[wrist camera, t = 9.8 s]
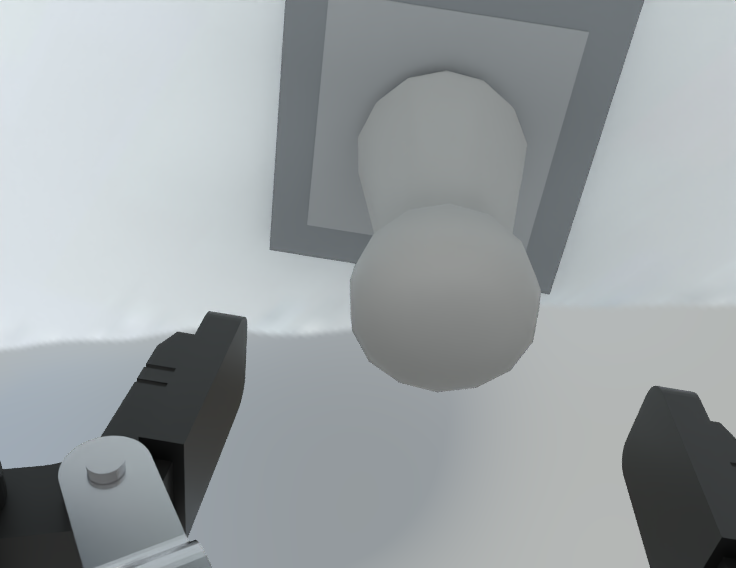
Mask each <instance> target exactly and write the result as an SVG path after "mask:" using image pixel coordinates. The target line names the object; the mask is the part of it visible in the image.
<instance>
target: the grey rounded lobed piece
mask: <svg viewBox="0 0 736 568" xmlns="http://www.w3.org/2000/svg"><path fill="white" fill-rule="evenodd" d="M526 149H527V142H526V140H525V137H524V134H523V131H522V129H521V126H520V123H519V120H518V118H517V115H516V112H515V110H514V108H513V107H512V106H511V105H510V104H509V103H508V102H507V101H506V100H505V99H503V98H502V97H501V96H500V95H499V94H498V93H497V92H496V91H495V90H494V89H492V88H491V87H490V86H489V85H488V84H487V83H486V82H485V81H484V80H480V79H477V78H473V77H469V76H465V75H462V74H458V73H454V72H451V71H447V70H446V71H441V72H436V73H431V74H426V75H420V76H415V77H410V78H407V79H406V80H405V81H404V82H402V83H401V84H400V85H398V86H397V87H396V88H394V89H393V90H392V91H390V92H389V93H388V94H386V95H385V96H384V97H382V98H381V99H380V100H379V101H378V102H377V103H376V104H375V106H374V108H373V109H372V111H371V113H370V115H369V117H368V119H367V121H366V123H365V125H364V127H363V128H362V130H361V132H360V134H359V136H358V173H359V177H360V181H361V185H362V188H363V192H364V196H365V200H366V204H367V208H368V212H369V215H370V219H371V223H372V227H373V231H374V234H373V236H372V238H371V239H370V241H369V243H368V244H367V246H366V248H365V249H364V251H363V253H362V255H361V256H360V258H359V260H358V261H357V263H356V265H355V267H354V270H353V273H352V276H351V279H350V305H351V323H352V331H353V333H354V335H355V336H356V338H357V340H358V342H359V344H360V346H361V348H362V349H363V351H364V353H365V355H366V356H367V359H368V360H369V362H371V363H372V364H374V365H375V366H376V367H378V368H379V369H381V370H382V371H384V372H385V373H387V374H388V375H390V376H391V377H392V378H394V379H395V380H397V381H398V382H400V383H403V384H407V385H411V386H415V387H419V388H423V389H427V390H431V391H435V392H443V391H451V390H460V389H468V388H476V387H478V386H480V385H482V384H484V383H486V382H488V381H490V380H492V379H494V378H496V377H498V376H500V375H502V374H504V373H506V372H508V371H510V370H511V369H512V368H513V367H514V365H515V364H516V363H517V361H518V360H519V359H520V358H521V356H522V355H523V354H524V353H525V351H526V350H527V349H528V347H529V346H530V345H531V344H532V342H533V337H534V333H535V327H536V322H537V317H538V311H539V304H540V293H541V290H540V287H539V284H538V281H537V278H536V275H535V273H534V270H533V268H532V266H531V263H530V261H529V258H528V256H527V253H526V251H525V248H524V246H523V243H522V242H521V241H520V240H519V239H518V238H517V237H516V236H514V235H513V228H514V221H515V215H516V209H517V203H518V197H519V191H520V186H521V182H522V176H523V169H524V162H525V155H526Z"/></svg>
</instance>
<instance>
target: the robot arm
mask: <svg viewBox="0 0 736 568" xmlns="http://www.w3.org/2000/svg"><path fill="white" fill-rule="evenodd" d="M246 343H247V319H246V317H241V316H235V315H229V314H223V313H217V312H211V311H209V312H208V313H207V314H206V315H205V317H204V319H203V321H202V323H201V324H200V326H199V328H198V330H197V332H196V334H195V335H194V334H188V333H182V332H176V333H175V334H174V335H172V336H171V337H169V338H168V339H166V340H165V341H164V342H162V343H161V344H159V345H158V346H157V347H156V349H155V350H154V352H153V354H152V355H151V357H150V358H149V360H148V362H147V363H146V367H144V368H143V370H142V371H141V373H140V375H139V376H138V378H137V382H135V383H134V384H133V386H132V387H131V389H130V391H129V392H128V394H127V396H126V397H125V399H124V400H123V402H122V404H121V405H120V407H119V408H118V410H117V412H116V413H115V415H114V416H113V418H112V420H111V421H110V423H109V425H108V426H107V428H106V429H105V431H104V433H103V434H102V436H101V437H100V438H95V439H92V440H89V441H87V442H85V443H83V444H81V445H79V446H78V447H76V448H74V449H73V450H72V451H71V452H70V453H69V454H68V455H67V456H66V457H65V458H64V460H63V461H62V462H61V463H57V464H52V465H45V466H36V467H24V468H12V469H2V466H1V462H0V568H212V566H211V564H210V562H209V560H208V558H207V555H206V553H205V551H204V549H203V547H202V546H201V544H200V543H199V542H198V541H197V540H194V541H191V542H190V541H189V540H188V535H189V533H190V530H191V528H192V525H193V523H194V520H195V517H196V515H197V512H198V510H199V507H200V505H201V502H202V500H203V497H204V495H205V492H206V490H207V487H208V485H209V482H210V480H211V477H212V475H213V472H214V470H215V467H216V465H217V462H218V460H219V457H220V455H221V452H222V449H223V447H224V444H225V442H226V439H227V437H228V434H229V431H230V429H231V427H232V424H233V422H234V419H235V416H236V414H237V411H238V409H239V406H240V403H241V399H242V395H243V390H244V383H245V368H246ZM622 470H623V475H624V479H625V482H626V485H627V489H628V493H629V496H630V499H631V503H632V506H633V510H634V513H635V517H636V520H637V524H638V527H639V530H640V534H641V538H642V541H643V544H644V547H645V551H646V555H647V558H648V562H649V565H650V568H736V439H735V437H733V435H732V434H731V433H730V432H729V431H728V430H727V429H726V428H725V427H724V426H723V425H722V424H721V423H719V422H713V421H710V420H709V417H708V415H707V413H706V411H705V409H704V407H703V405H702V403H701V400H700V398H699V397H698V395H697V394H696V393H694V392H690V391H684V390H678V389H672V388H666V387H660V386H653V387H652V388H651V389H650V390H649V391H648V393H647V395H646V397H645V399H644V402H643V404H642V406H641V408H640V411H639V413H638V415H637V417H636V419H635V422H634V424H633V426H632V428H631V431H630V433H629V435H628V438H627V440H626V442H625V445H624V449H623V456H622Z"/></svg>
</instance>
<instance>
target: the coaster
mask: <svg viewBox="0 0 736 568" xmlns="http://www.w3.org/2000/svg"><path fill="white" fill-rule="evenodd" d="M643 3H644V0H286V1H285V17H284V32H283V48H282V64H281V79H280V95H279V111H278V127H277V142H276V158H275V174H274V190H273V205H272V221H271V237H270V250H274V251H280V252H287V253H293V254H299V255H305V256H312V257H318V258H324V259H331V260H337V261H343V262H350V263H357V261H358V260H359V258H360V256H361V255H362V253H363V251H364V249H365V248H366V246H367V244H368V243H369V241H370V239H371V238H372V236H373V234H374V231H373V227H372V223H371V219H370V215H369V212H368V208H367V204H366V200H365V196H364V192H363V188H362V185H361V181H360V177H359V173H358V136H359V134H360V132H361V130H362V128H363V127H364V125H365V123H366V121H367V119H368V117H369V115H370V113H371V111H372V109H373V108H374V106H375V104H376V103H377V102H378V101H379V100H380V99H381V98H382V97H384V96H385V95H386V94H388V93H389V92H390V91H392V90H393V89H394V88H396V87H397V86H398V85H400V84H401V83H402V82H404V81H405V80H406V79H407V78H410V77H415V76H420V75H426V74H431V73H436V72H441V71H446V70H447V71H451V72H454V73H458V74H462V75H465V76H469V77H473V78H477V79H480V80H484V81H485V82H486V83H487V84H488V85H489V86H490V87H491V88H492V89H494V90H495V91H496V92H497V93H498V94H499V95H500V96H501V97H502V98H503V99H505V100H506V101H507V102H508V103H509V104H510V105H511V106H512V107H513V108H514V110H515V112H516V115H517V118H518V120H519V123H520V126H521V129H522V131H523V134H524V137H525V140H526V142H527V149H526V155H525V162H524V169H523V176H522V182H521V186H520V191H519V197H518V203H517V209H516V215H515V221H514V228H513V235H514V236H516V237H517V238H518V239H519V240H520V241H521V242H522V243H523V246H524V248H525V251H526V253H527V256H528V258H529V261H530V263H531V266H532V268H533V270H534V273H535V275H536V278H537V281H538V284H539V287H540V290H541V293H545V294H550V291H551V288H552V285H553V282H554V279H555V276H556V273H557V270H558V266H559V263H560V260H561V257H562V254H563V251H564V248H565V245H566V242H567V238H568V235H569V232H570V229H571V226H572V223H573V220H574V217H575V214H576V211H577V207H578V204H579V201H580V198H581V195H582V192H583V189H584V186H585V183H586V179H587V176H588V173H589V170H590V167H591V164H592V161H593V158H594V155H595V152H596V148H597V145H598V142H599V139H600V136H601V133H602V130H603V127H604V124H605V121H606V117H607V114H608V111H609V108H610V105H611V102H612V99H613V96H614V93H615V89H616V86H617V83H618V80H619V77H620V74H621V71H622V68H623V65H624V62H625V58H626V55H627V52H628V49H629V46H630V43H631V40H632V37H633V34H634V30H635V27H636V24H637V21H638V18H639V15H640V12H641V9H642V6H643Z"/></svg>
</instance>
